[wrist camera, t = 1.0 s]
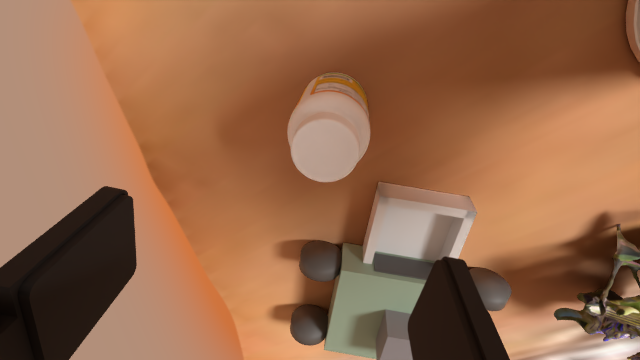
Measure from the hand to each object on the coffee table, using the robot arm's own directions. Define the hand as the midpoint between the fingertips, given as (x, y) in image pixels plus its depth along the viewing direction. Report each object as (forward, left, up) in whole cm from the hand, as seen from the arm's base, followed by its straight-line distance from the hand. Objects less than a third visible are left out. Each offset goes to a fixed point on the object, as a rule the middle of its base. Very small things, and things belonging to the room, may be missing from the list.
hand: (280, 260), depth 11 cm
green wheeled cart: (-10, +16, -20) cm, 27 cm away
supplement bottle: (-1, +1, -20) cm, 20 cm away
